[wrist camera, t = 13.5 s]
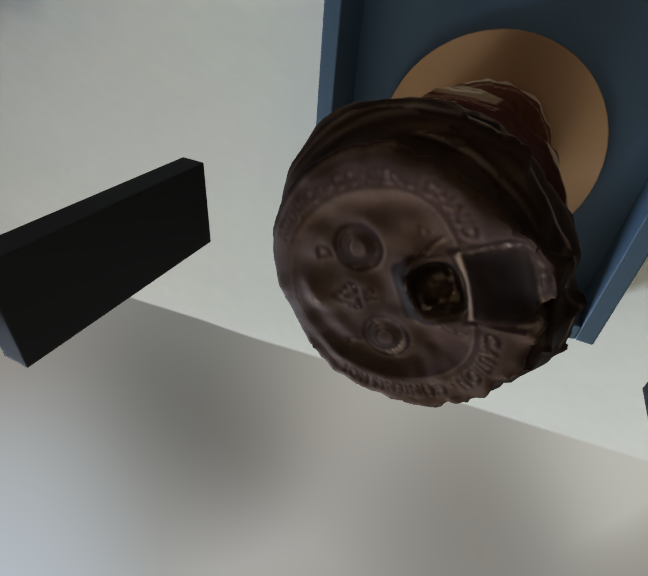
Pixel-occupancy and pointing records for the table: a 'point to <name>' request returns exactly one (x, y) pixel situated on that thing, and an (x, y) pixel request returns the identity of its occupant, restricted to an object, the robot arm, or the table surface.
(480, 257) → the coffee cup
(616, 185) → the tray
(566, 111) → the coaster
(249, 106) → the table surface
